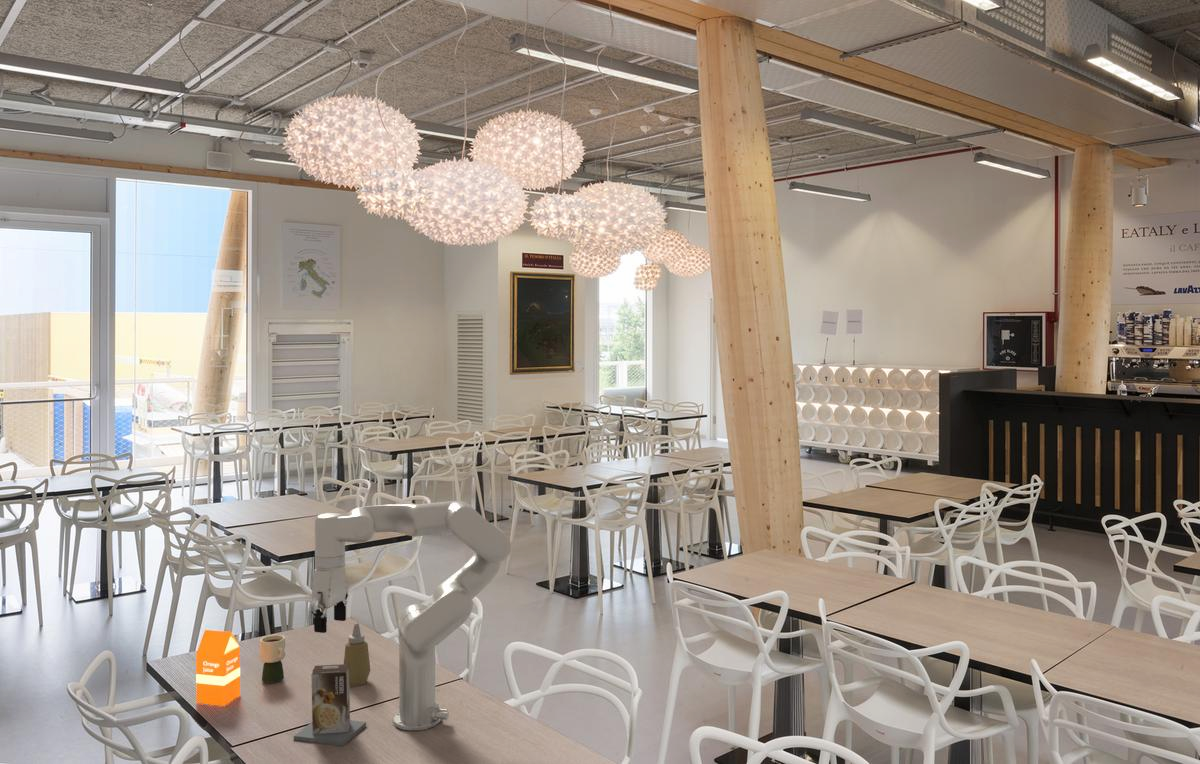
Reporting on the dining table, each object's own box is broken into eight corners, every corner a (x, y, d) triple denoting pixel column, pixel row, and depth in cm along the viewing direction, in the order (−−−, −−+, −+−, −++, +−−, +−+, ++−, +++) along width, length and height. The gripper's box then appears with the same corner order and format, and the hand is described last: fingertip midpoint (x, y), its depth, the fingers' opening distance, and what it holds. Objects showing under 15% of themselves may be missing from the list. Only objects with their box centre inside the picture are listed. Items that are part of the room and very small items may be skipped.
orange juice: (224, 706, 244) (223, 636, 243) (196, 704, 246) (195, 634, 245) (240, 695, 252) (240, 627, 251) (213, 693, 254) (212, 625, 253)
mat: (366, 725, 233) (366, 722, 233) (343, 745, 221) (343, 742, 221) (319, 720, 236) (318, 716, 236) (293, 739, 225) (293, 735, 225)
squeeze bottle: (353, 690, 257) (353, 630, 256) (337, 683, 261) (336, 624, 261) (376, 682, 263) (376, 623, 262) (359, 675, 268) (359, 617, 267)
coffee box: (351, 722, 233) (350, 663, 232) (347, 733, 226) (347, 672, 226) (315, 724, 231) (315, 664, 231) (311, 735, 225) (310, 674, 224)
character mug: (293, 681, 262) (293, 639, 262) (272, 689, 257) (272, 645, 256) (273, 673, 269) (273, 631, 269) (252, 680, 264) (251, 637, 263)
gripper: (334, 552, 236) (334, 615, 237) (298, 568, 219) (299, 635, 220) (359, 554, 235) (359, 617, 235) (325, 570, 218) (325, 638, 218)
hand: (330, 626), depth 228 cm, fingers open, 9 cm apart
